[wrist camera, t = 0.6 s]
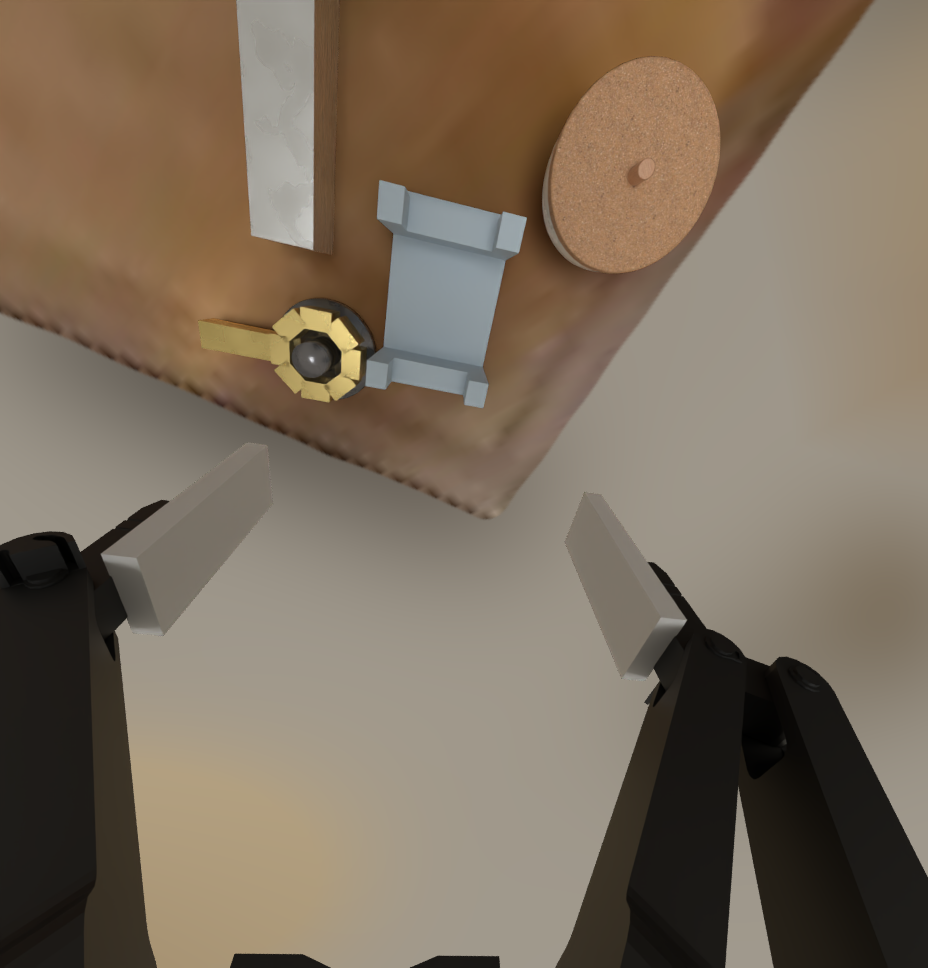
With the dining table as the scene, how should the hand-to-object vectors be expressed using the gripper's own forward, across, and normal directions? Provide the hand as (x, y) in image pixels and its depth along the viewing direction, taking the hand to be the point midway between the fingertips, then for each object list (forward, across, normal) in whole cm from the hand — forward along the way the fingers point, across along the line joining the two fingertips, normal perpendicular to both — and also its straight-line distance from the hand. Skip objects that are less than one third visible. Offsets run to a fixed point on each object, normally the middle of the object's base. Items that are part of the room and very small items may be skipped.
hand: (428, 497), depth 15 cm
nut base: (+24, -11, 0) cm, 26 cm away
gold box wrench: (+23, -14, 0) cm, 27 cm away
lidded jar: (+24, +10, +16) cm, 31 cm away
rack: (+24, -1, +6) cm, 25 cm away
